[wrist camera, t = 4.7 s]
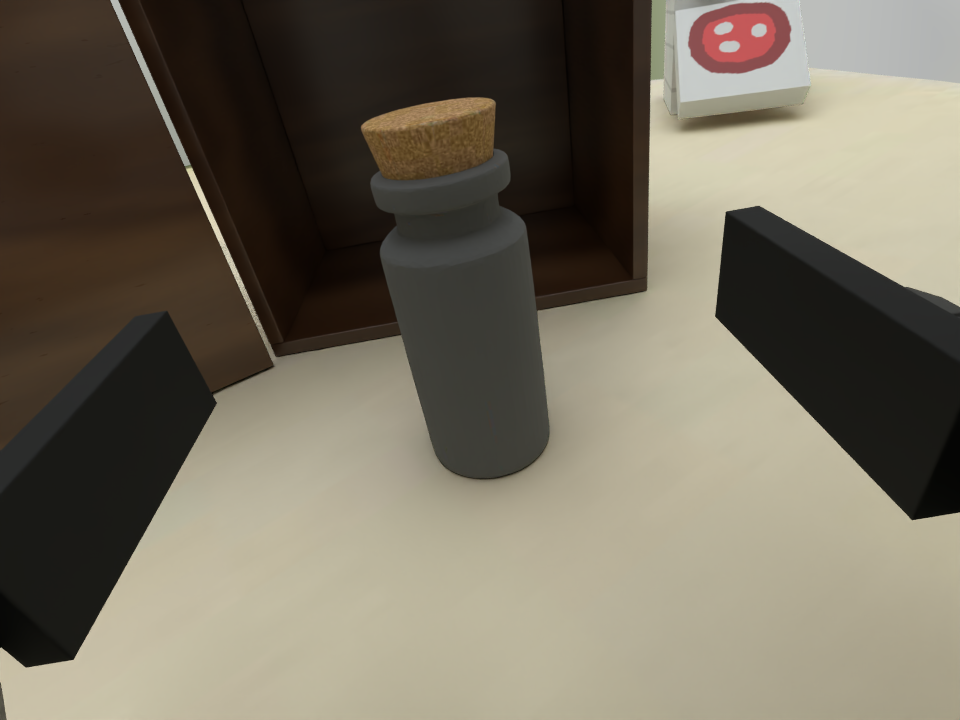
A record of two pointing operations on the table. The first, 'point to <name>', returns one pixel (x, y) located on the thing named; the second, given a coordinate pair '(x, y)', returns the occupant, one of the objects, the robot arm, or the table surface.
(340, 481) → the table surface
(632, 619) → the table surface
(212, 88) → the cupboard
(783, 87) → the pizza boxes
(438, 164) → the bottle
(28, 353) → the cupboard door
